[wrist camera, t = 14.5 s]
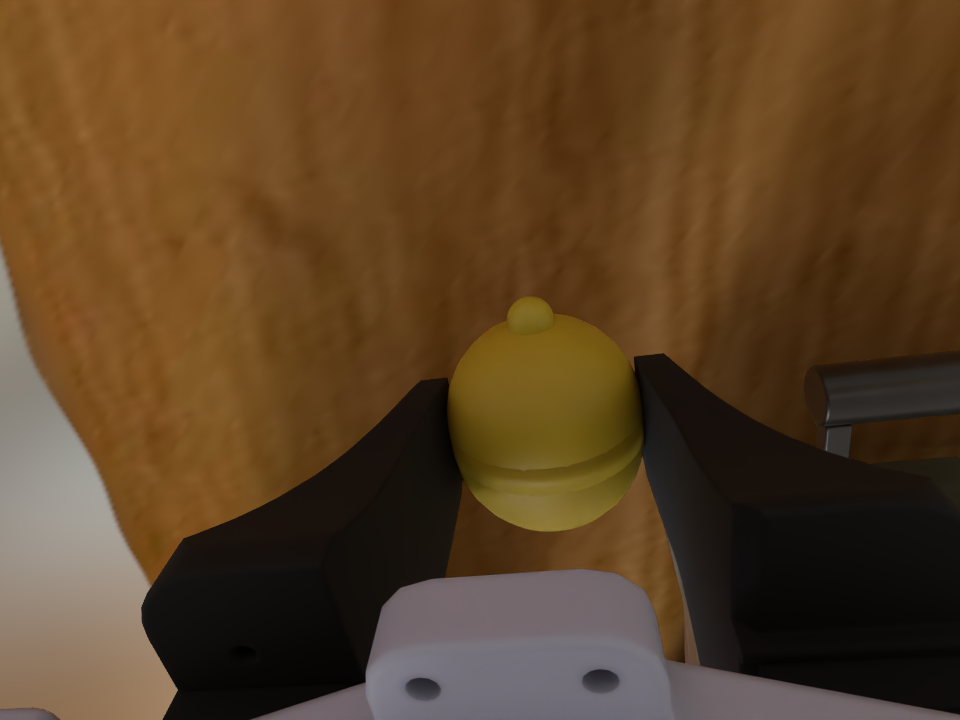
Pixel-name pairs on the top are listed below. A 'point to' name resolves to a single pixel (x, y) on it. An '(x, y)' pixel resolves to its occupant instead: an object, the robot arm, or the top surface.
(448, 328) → the top surface
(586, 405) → the lemon
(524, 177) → the top surface
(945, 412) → the drawer
